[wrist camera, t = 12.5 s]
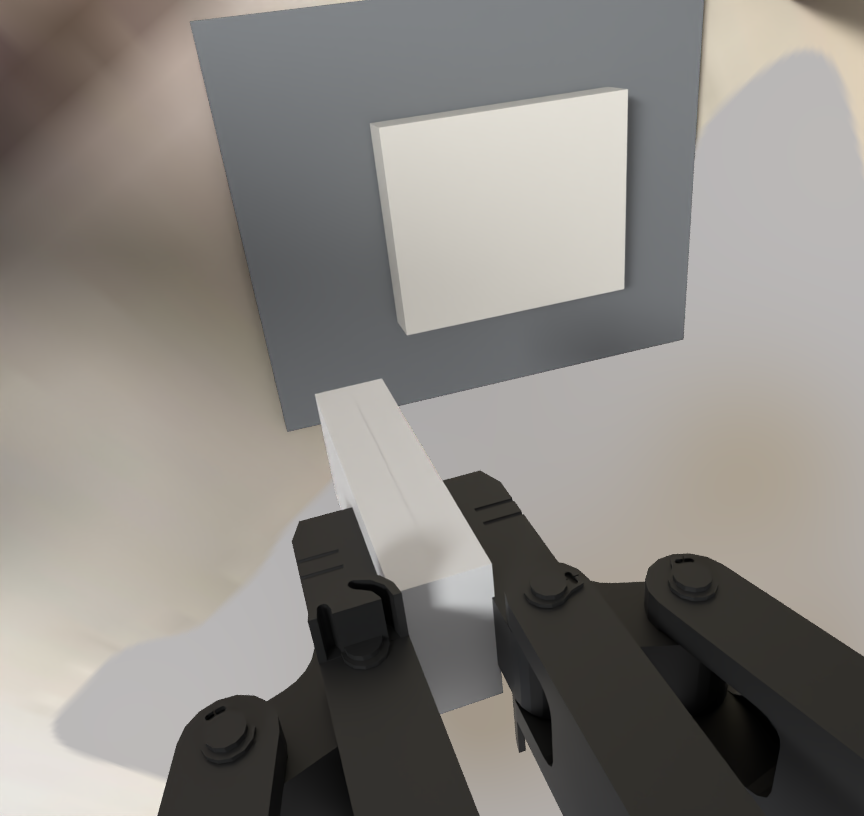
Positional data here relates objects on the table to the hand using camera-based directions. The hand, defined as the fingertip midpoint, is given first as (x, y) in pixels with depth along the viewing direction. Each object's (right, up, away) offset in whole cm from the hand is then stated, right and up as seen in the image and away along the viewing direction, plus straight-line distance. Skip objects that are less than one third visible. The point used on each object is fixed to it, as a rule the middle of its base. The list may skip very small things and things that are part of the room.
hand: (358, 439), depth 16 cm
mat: (+4, +10, +18) cm, 21 cm away
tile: (0, +8, +16) cm, 18 cm away
